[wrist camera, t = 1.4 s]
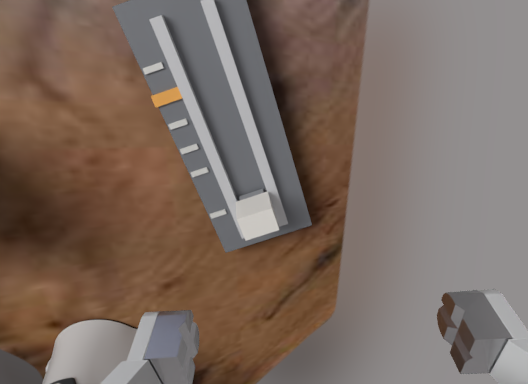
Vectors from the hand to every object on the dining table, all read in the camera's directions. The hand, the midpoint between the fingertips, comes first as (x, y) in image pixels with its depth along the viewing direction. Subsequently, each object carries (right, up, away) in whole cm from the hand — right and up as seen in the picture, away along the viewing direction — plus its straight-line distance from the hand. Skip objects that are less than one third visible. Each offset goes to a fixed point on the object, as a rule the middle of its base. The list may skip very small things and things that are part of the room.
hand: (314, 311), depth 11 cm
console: (-6, +12, +29) cm, 32 cm away
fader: (-3, +3, +30) cm, 31 cm away
